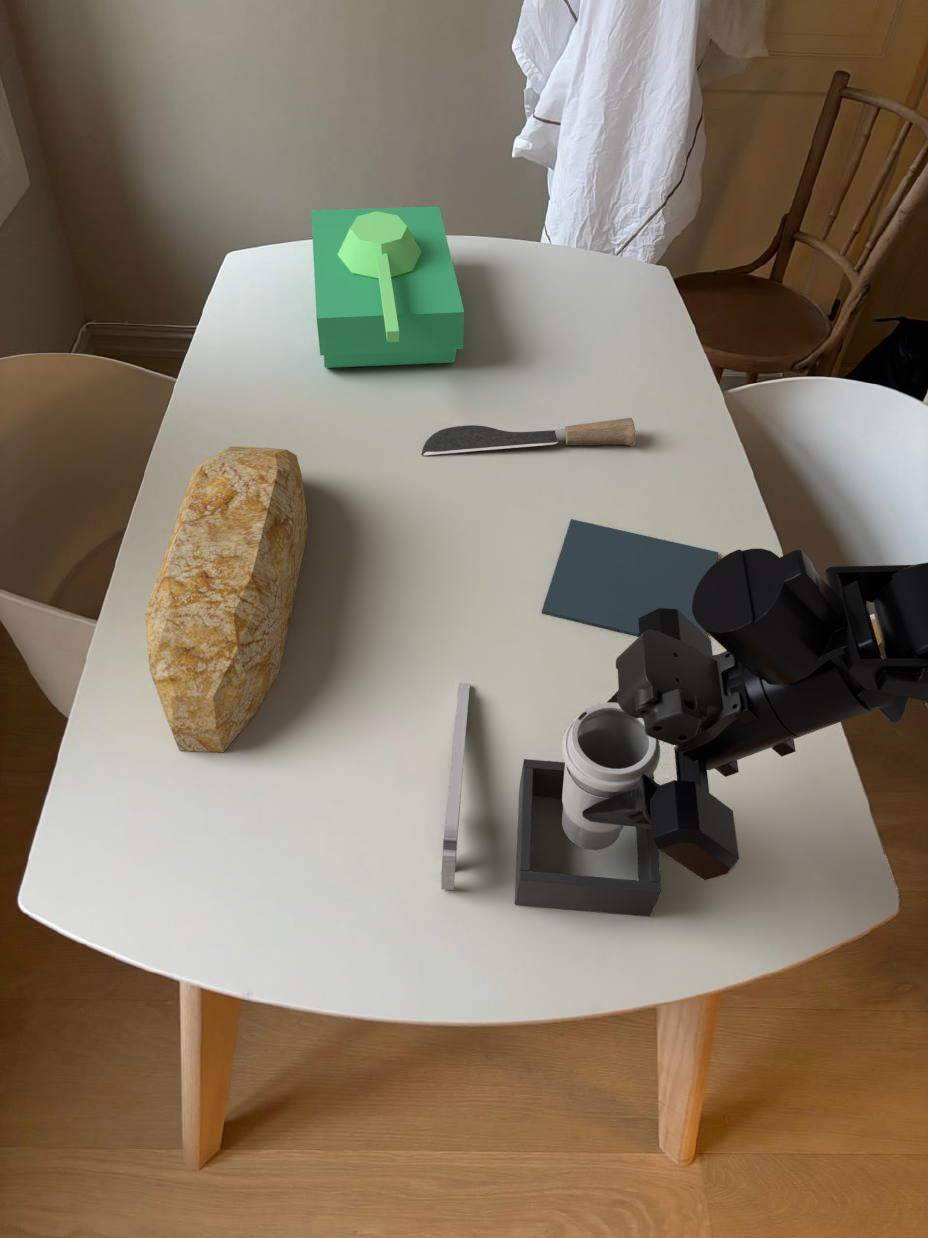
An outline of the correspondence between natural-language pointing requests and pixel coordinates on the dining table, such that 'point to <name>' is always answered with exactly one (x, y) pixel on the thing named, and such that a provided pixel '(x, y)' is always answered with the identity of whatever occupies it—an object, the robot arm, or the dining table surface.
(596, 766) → the cup
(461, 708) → the caliper
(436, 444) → the hand tool
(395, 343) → the toy tank
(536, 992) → the dining table surface
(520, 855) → the holder
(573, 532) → the mat
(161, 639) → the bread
